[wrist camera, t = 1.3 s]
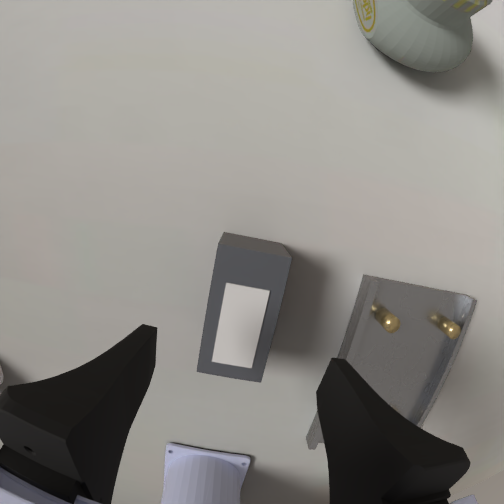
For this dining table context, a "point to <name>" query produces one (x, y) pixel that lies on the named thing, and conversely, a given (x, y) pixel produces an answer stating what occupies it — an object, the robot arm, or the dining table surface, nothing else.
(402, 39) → the air freshener
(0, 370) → the white tapered cup
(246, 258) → the block
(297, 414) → the dining table surface
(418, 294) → the tray
